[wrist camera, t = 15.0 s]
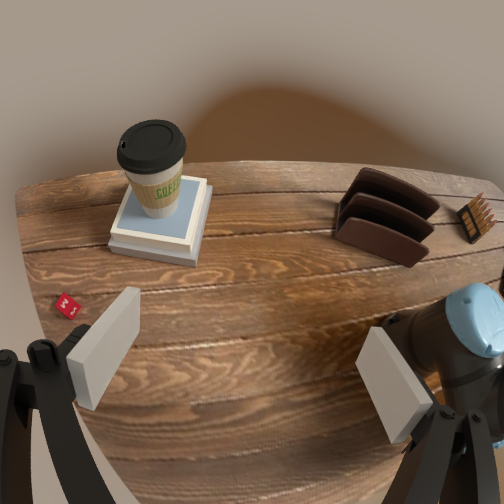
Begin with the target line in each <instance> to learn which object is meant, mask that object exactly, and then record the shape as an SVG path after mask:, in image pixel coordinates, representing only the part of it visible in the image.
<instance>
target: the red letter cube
mask: <svg viewBox="0 0 504 504" xmlns="http://www.w3.org/2000/svg"><path fill="white" fill-rule="evenodd" d="M55 306H56V307H57V308H58V309H59V310H60V311H61V312H62V313H63V314H64V315H65V316H67V317H69V318H70V319H72V320H73V318H74V317H75V315H76V314H77V312H78V311H79V309H80V308H81V306H80V305H79V304H78V303H76V302H75V301H74V300H73V299H72V298H71V297H69V296H68V295H67V294H66V293H65V292H63V294H62V295H61V297H60V298H59V300H58V301H57V303H56V304H55Z"/></svg>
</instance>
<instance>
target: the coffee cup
mask: <svg viewBox="0 0 504 504" xmlns="http://www.w3.org/2000/svg"><path fill="white" fill-rule="evenodd" d="M123 141H124V142H123ZM122 143H123V144H122ZM185 151H186V141H185V138H184V136H183V134H182V133H181V132H180V130H179V128H178V127H177V126H176V125H174V124H173V123H171V122H169V121H165V120H147V121H143V122H140V123H138V124H135V125H134V126H132V127H130V128H129V129H128V130H127V131H126V132H125V133H124V134H123V135H122V137H121V139H120V142H119V146H118V149H117V160H118V162H119V164H120V165H121V167H122V168H123V169H124V170H125V174H126V176H127V178H128V181H129V183H130V185H131V187H132V189H133V191H134V193H135V195H136V197H137V199H138V201H139V203H140V204H141V206H142V208H143V210H144V212H145V213H146V214H147V215H148V216H149V217H151V218H154V219H163V218H167V217H169V216H171V215H172V214H173V213H174V212H175V211H176V209H177V206H178V197H179V193H180V184H181V174H182V165H183V156H184V154H185Z"/></svg>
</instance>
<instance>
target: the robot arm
mask: <svg viewBox="0 0 504 504" xmlns="http://www.w3.org/2000/svg"><path fill="white" fill-rule="evenodd" d="M139 332H140V289H138V288H133V287H129V286H127V288H126V289H125V290H124V291H123V292H122V293H121V294H120V295H119V296H118V297H117V298H116V300H115V301H114V302H113V303H112V304H111V305H110V306H109V307H108V309H107V310H106V311H105V312H104V313H103V314H102V315H101V316H100V318H99V319H98V320H97V321H96V322H95V323H94V324H93V326H89V325H86V324H82V325H80V326H78V327H76V328H75V329H74V330H73V331H72V332H71V333H70V335H68V337H67V338H66V339H65V340H64V341H63V342H62V343H61V344H60V345H59V347H58V348H57V346H56V344H55V343H53V342H52V341H50V340H46V339H43V340H41V339H40V340H36V341H34V342H32V343H31V344H30V345H29V346H28V348H27V354H28V357H29V360H30V363H28V362H22V361H18V358H17V356H16V354H15V353H14V352H13V351H11V350H7V349H6V350H0V504H33V499H32V498H33V497H32V486H31V485H32V484H31V426H32V412H33V409H38V410H39V413H40V418H41V422H42V426H43V430H44V434H45V438H46V441H47V445H48V448H49V452H50V455H51V458H52V461H53V464H54V467H55V470H56V473H57V476H58V478H59V481H60V484H61V486H62V489H63V492H64V494H65V496H66V499H67V501H68V503H69V504H116V503H115V501H114V499H113V497H112V496H111V494H110V492H109V490H108V488H107V486H106V484H105V482H104V480H103V478H102V476H101V474H100V472H99V470H98V468H97V466H96V464H95V462H94V459H93V457H92V455H91V452H90V450H89V448H88V445H87V443H86V441H85V438H84V435H83V433H82V430H81V428H80V425H79V422H78V419H77V417H76V414H75V411H74V408H73V405H72V402H73V401H74V399H75V398H76V399H77V402H78V405H79V406H81V407H84V408H86V409H89V410H92V411H94V410H95V408H96V407H97V405H98V403H99V401H100V399H101V397H102V396H103V394H104V392H105V390H106V388H107V387H108V385H109V383H110V381H111V379H112V378H113V376H114V374H115V372H116V371H117V369H118V367H119V365H120V364H121V362H122V360H123V359H124V357H125V355H126V353H127V352H128V350H129V348H130V347H131V345H132V343H133V342H134V340H135V338H136V337H137V335H138V333H139ZM355 364H356V366H357V368H358V370H359V372H360V375H361V377H362V379H363V381H364V383H365V385H366V388H367V390H368V392H369V394H370V396H371V399H372V401H373V403H374V405H375V407H376V410H377V412H378V414H379V417H380V419H381V421H382V423H383V426H384V428H385V430H386V433H387V435H388V437H389V440H390V442H391V444H394V443H400V442H404V441H405V440H406V439H407V437H408V436H409V435H410V434H411V436H412V438H413V439H412V440H411V442H410V443H409V444H408V445H407V446H406V448H405V449H404V450H403V451H402V454H403V453H404V452H405V451H406V453H405V455H404V457H403V460H402V462H401V464H400V467H399V469H398V471H397V473H396V476H395V478H394V480H393V482H392V484H391V486H390V488H389V490H388V492H387V494H386V496H385V498H384V500H383V502H382V504H438V501H439V504H500V492H499V483H498V475H497V468H496V462H495V456H494V451H493V449H494V448H496V449H498V448H500V447H502V446H503V445H504V303H503V301H502V299H501V298H500V297H499V295H498V294H497V293H496V292H495V291H494V290H493V289H491V288H489V287H488V286H487V285H485V284H482V283H472V284H469V285H467V286H465V287H463V288H461V289H456V290H454V291H452V292H451V293H450V294H449V295H448V296H447V297H445V298H443V299H441V300H439V301H437V302H435V303H433V304H431V305H429V306H427V307H425V308H423V309H421V310H401V311H397V312H395V313H393V314H391V315H389V316H388V317H386V318H385V319H384V320H383V321H382V322H381V323H380V325H379V326H378V327H372V326H371V328H370V331H369V333H368V335H367V338H366V340H365V342H364V345H363V347H362V349H361V352H360V354H359V356H358V358H357V360H356V363H355ZM437 371H438V373H439V377H440V381H441V385H442V389H443V394H444V398H445V402H446V405H440V404H439V402H438V401H437V399H436V398H435V396H434V395H433V393H432V392H431V390H430V389H429V387H428V386H427V384H425V381H424V379H426V378H427V377H429V376H430V375H431V374H433V373H434V372H437ZM439 498H440V499H439Z"/></svg>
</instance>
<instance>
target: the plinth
mask: <svg viewBox="0 0 504 504" xmlns="http://www.w3.org/2000/svg"><path fill="white" fill-rule="evenodd" d="M206 182H207V179H204V178H197V177H190V176H182V175H181V184H180V193H179V197H178V206H177V209H176V211H175V212H174V213H173V214H172V215H171V216H169V217H167V218H163V219H154V218H151V217H149V216H148V215H147V214H146V213H145V212H144V210H143V208H142V206H141V204H140V203H139V201H138V199H137V197H136V195H135V193H134V191H133V189H132V187H131V185H130V184H129V186H128V189H127V191H126V193H125V196H124V198H123V201H122V203H121V205H120V208H119V210H118V213H117V215H116V218H115V221H114V223H113V226H112V229H111V231H110V233H111V238H110V241H109V244H108V246H109V248H110V249H111V251H112V253H117V254H122V255H128V256H133V257H139V258H144V259H150V260H156V261H161V262H167V263H173V264H179V265H184V266H190V267H196V264H197V260H198V255H199V250H200V245H201V241H202V236H203V231H204V227H205V222H206V218H207V213H208V209H209V205H210V200H211V196H212V186H209V185H206Z"/></svg>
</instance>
